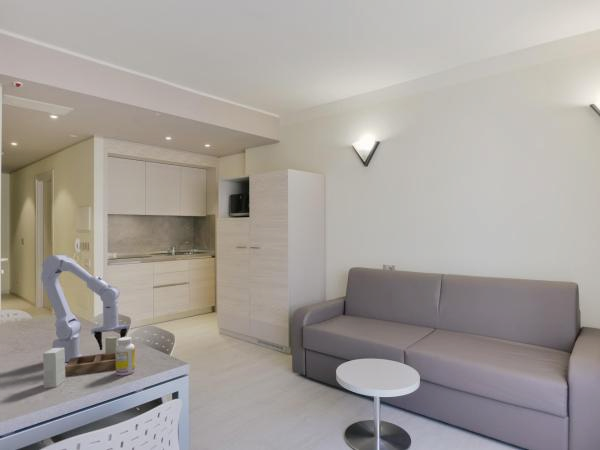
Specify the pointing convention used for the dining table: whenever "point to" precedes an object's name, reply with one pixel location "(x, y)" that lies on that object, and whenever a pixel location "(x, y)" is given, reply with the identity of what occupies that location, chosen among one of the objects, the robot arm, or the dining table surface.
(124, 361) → the supplement bottle
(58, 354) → the skincare box
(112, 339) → the sage peg
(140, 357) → the dining table surface
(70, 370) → the walnut rail
